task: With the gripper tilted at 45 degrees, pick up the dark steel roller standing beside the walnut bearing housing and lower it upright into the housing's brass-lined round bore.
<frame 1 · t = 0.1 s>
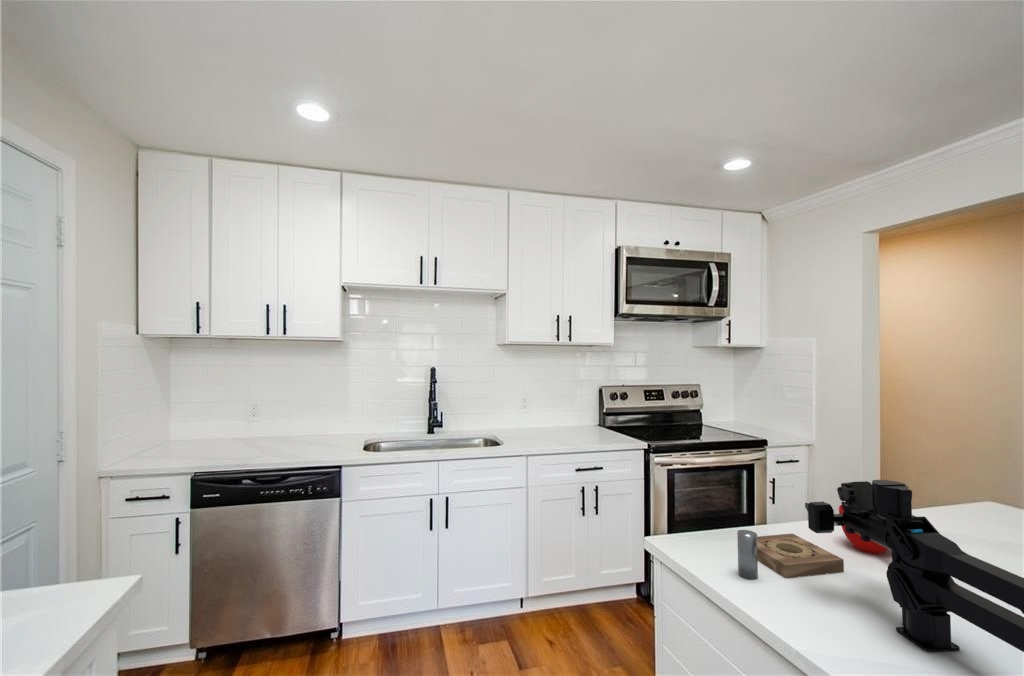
hand: (823, 504, 111), 17 cm above the counter, tool horizontal, fingers open, 9 cm apart
steel roller: (748, 575, 110), on the counter
ceramic cup: (873, 552, 122), on the counter
bearing housing: (789, 559, 118), on the counter
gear: (900, 535, 133), on the counter
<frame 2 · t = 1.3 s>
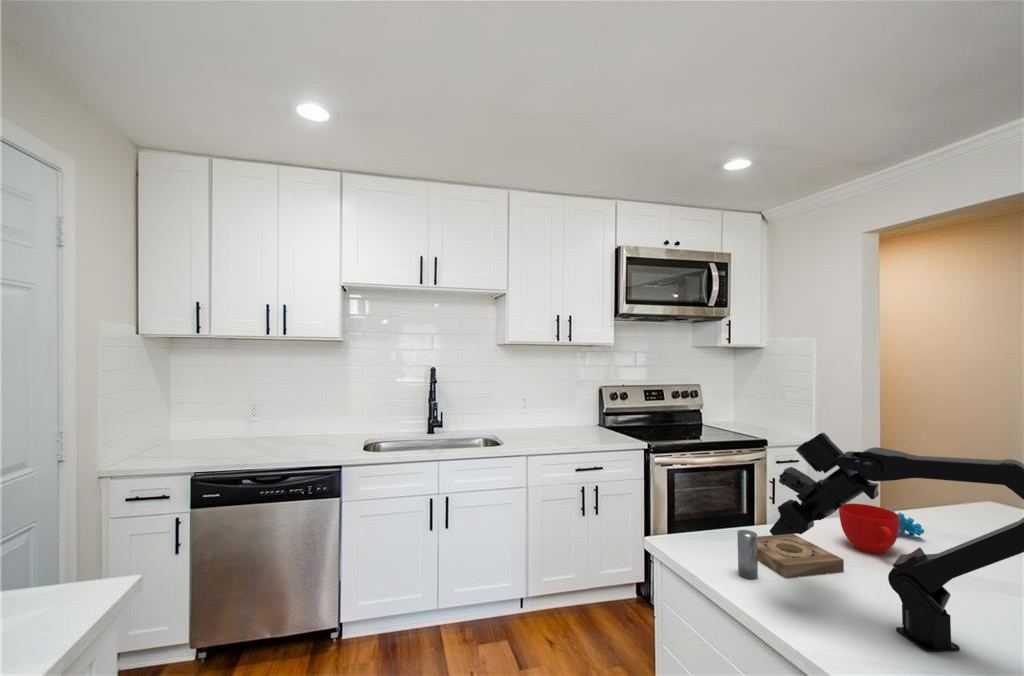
hand: (779, 527, 105), 13 cm above the counter, tool tilted 45°, fingers open, 9 cm apart
nothing on the counter moved.
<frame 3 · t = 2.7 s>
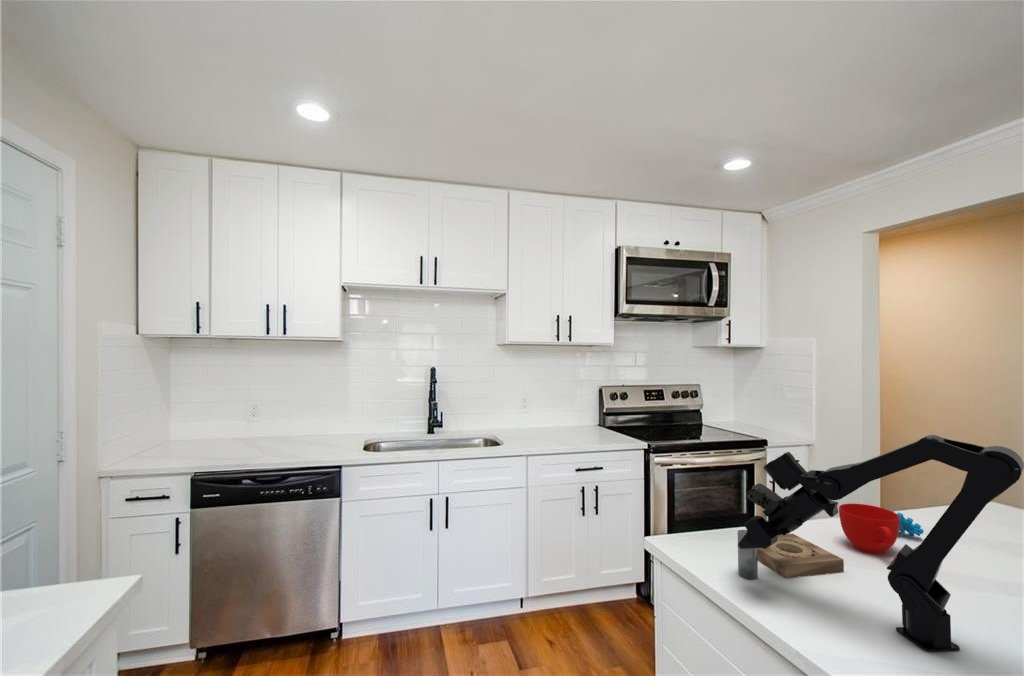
hand: (748, 541, 110), 8 cm above the counter, tool tilted 45°, fingers open, 9 cm apart
nothing on the counter moved.
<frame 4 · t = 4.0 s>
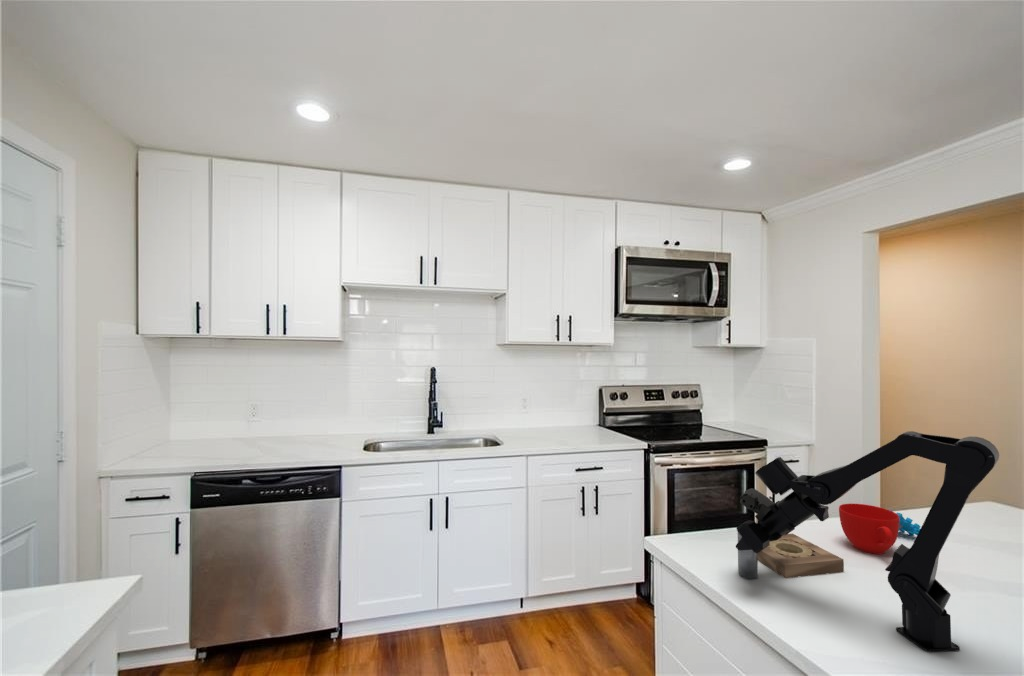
hand: (741, 545, 112), 7 cm above the counter, tool tilted 45°, fingers closed on steel roller, 4 cm apart
steel roller: (747, 575, 110), on the counter, touching gripper
everything else where it was.
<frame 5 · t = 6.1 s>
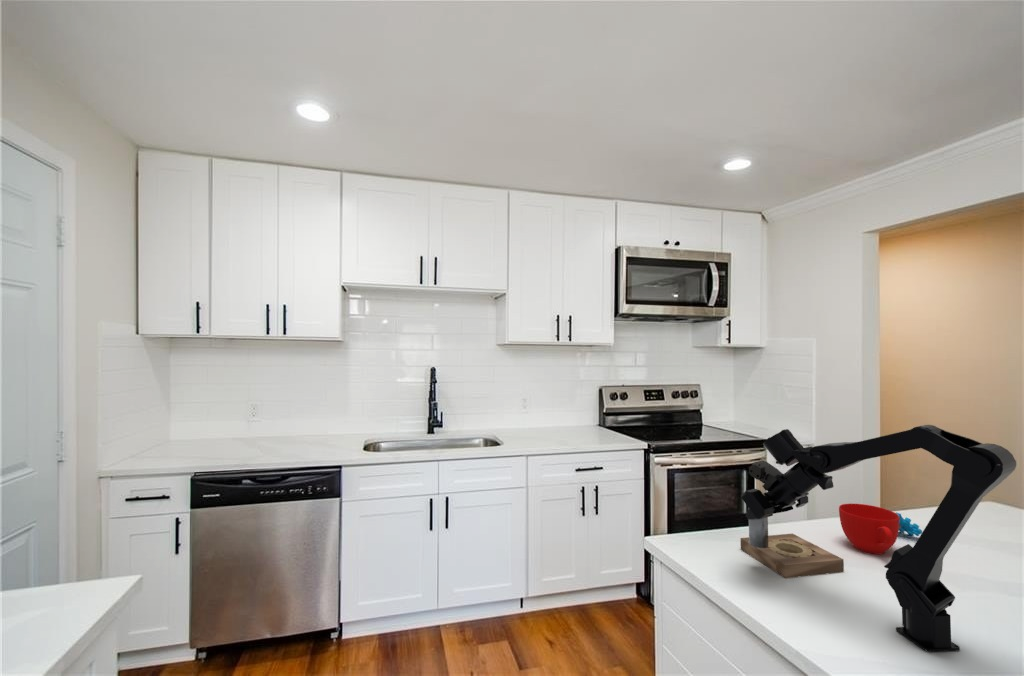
hand: (752, 515, 115), 12 cm above the counter, tool tilted 45°, fingers closed on steel roller, 4 cm apart
steel roller: (758, 544, 114), point 6 cm above the counter, touching gripper
everything else where it was.
when the fingers open (8 cm above the counter, at t = 8.4 s): steel roller drops 1 cm, resting in bearing housing.
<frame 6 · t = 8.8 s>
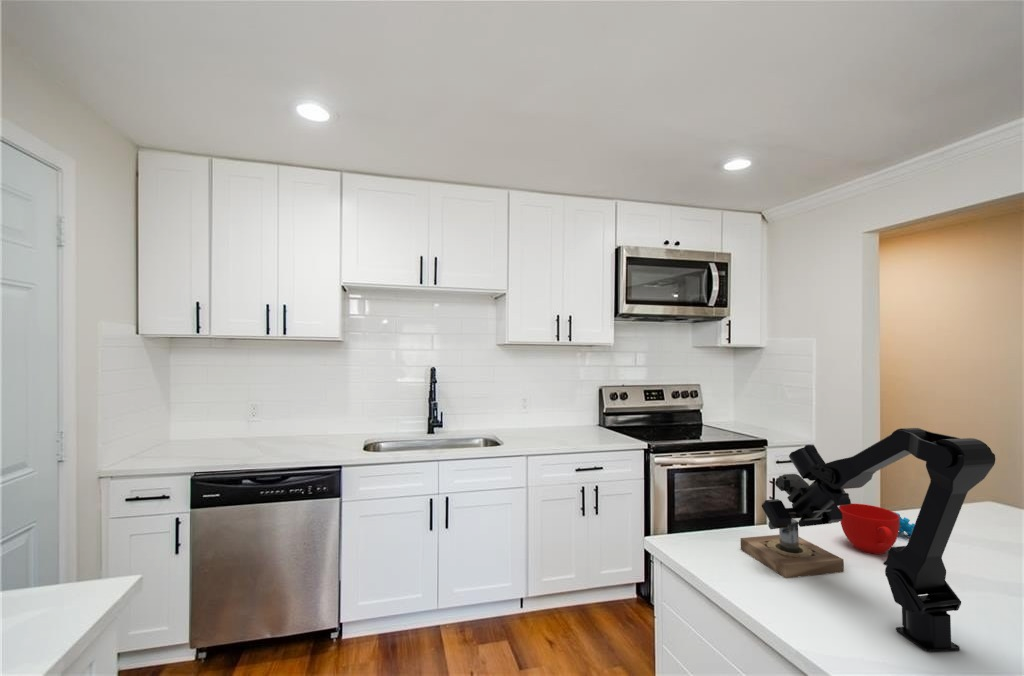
hand: (784, 526, 120), 8 cm above the counter, tool tilted 45°, fingers open, 8 cm apart
steel roller: (789, 560, 118), resting in bearing housing
everything else where it was.
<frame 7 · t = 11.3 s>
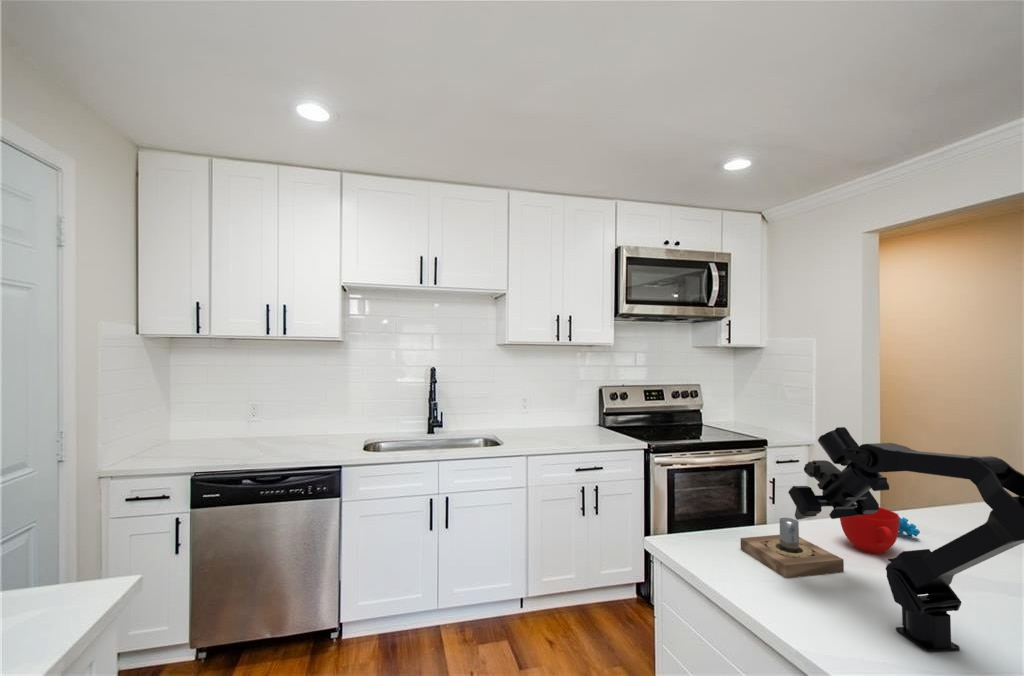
hand: (813, 517, 111), 14 cm above the counter, tool tilted 45°, fingers open, 9 cm apart
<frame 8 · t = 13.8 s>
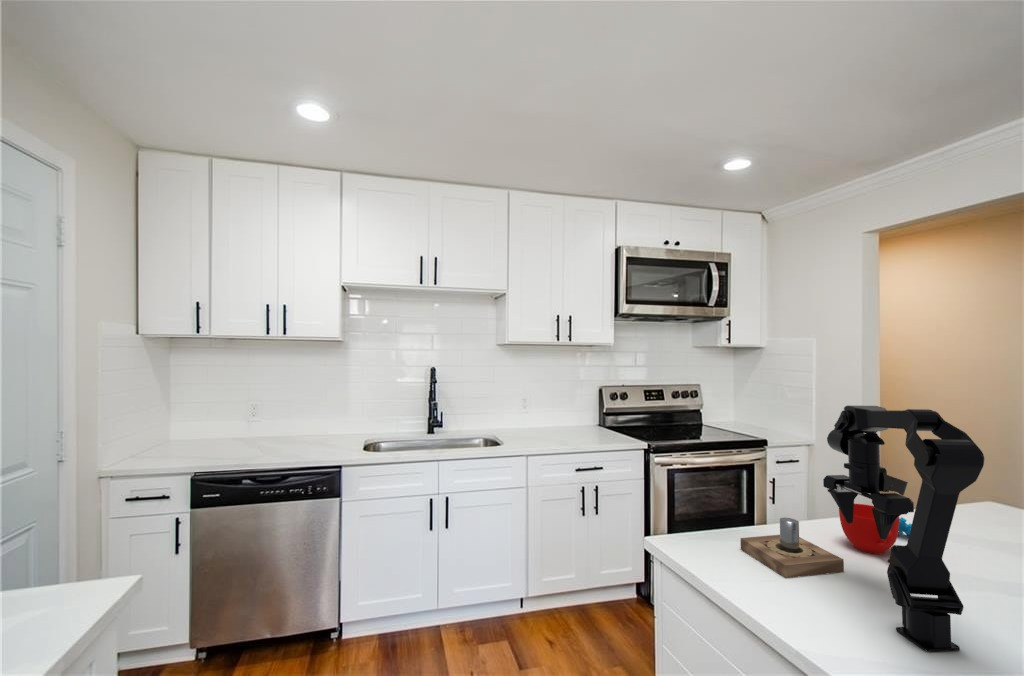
hand: (865, 530, 104), 13 cm above the counter, tool pointing down, fingers open, 9 cm apart
at the end: steel roller 0.1 cm off-centre on the bearing housing, point 0.0 cm above the bearing housing's base; steel roller tilted 1°; the gripper is holding nothing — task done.
